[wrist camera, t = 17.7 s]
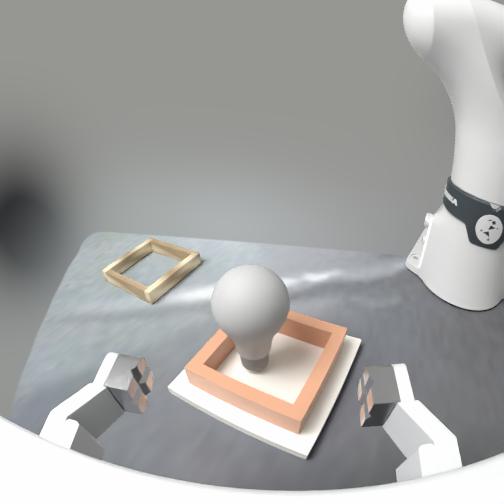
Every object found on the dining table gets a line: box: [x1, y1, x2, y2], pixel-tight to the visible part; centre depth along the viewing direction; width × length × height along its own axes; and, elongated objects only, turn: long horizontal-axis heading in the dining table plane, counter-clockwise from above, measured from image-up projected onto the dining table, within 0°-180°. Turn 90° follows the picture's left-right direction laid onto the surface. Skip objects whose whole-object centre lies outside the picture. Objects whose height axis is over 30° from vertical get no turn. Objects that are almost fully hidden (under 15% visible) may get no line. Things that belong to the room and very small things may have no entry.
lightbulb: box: [211, 265, 290, 371], centre depth 26 cm, size 6×6×11 cm
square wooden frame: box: [102, 238, 201, 304], centre depth 44 cm, size 10×10×2 cm
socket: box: [168, 310, 361, 460], centre depth 28 cm, size 14×14×4 cm
